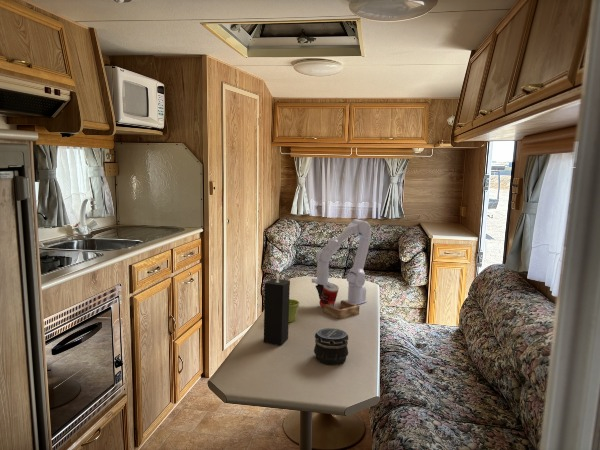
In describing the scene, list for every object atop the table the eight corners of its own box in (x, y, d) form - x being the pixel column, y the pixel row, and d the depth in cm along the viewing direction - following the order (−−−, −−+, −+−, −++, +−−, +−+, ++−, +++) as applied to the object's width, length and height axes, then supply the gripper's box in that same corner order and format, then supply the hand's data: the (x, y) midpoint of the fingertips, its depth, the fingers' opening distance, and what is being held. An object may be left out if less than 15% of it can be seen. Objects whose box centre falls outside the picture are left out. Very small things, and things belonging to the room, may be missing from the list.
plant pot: (303, 320, 202) (303, 302, 201) (288, 325, 195) (289, 306, 194) (288, 315, 208) (289, 297, 207) (274, 320, 201) (274, 301, 200)
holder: (342, 307, 222) (342, 300, 222) (359, 314, 213) (359, 306, 213) (323, 312, 214) (323, 304, 213) (340, 319, 205) (340, 311, 205)
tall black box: (288, 338, 180) (290, 272, 176) (281, 346, 172) (283, 277, 169) (270, 336, 182) (272, 270, 178) (263, 342, 175) (264, 274, 171)
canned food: (334, 303, 225) (339, 285, 221) (332, 311, 218) (338, 292, 214) (320, 299, 226) (324, 281, 222) (318, 307, 218) (322, 288, 215)
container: (313, 350, 169) (314, 326, 168) (346, 352, 169) (347, 327, 167) (313, 365, 156) (314, 339, 155) (349, 367, 156) (350, 340, 155)
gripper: (307, 271, 226) (306, 296, 227) (326, 277, 215) (325, 304, 216) (317, 269, 230) (316, 294, 232) (336, 275, 219) (335, 301, 221)
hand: (321, 299), depth 224 cm, fingers closed
